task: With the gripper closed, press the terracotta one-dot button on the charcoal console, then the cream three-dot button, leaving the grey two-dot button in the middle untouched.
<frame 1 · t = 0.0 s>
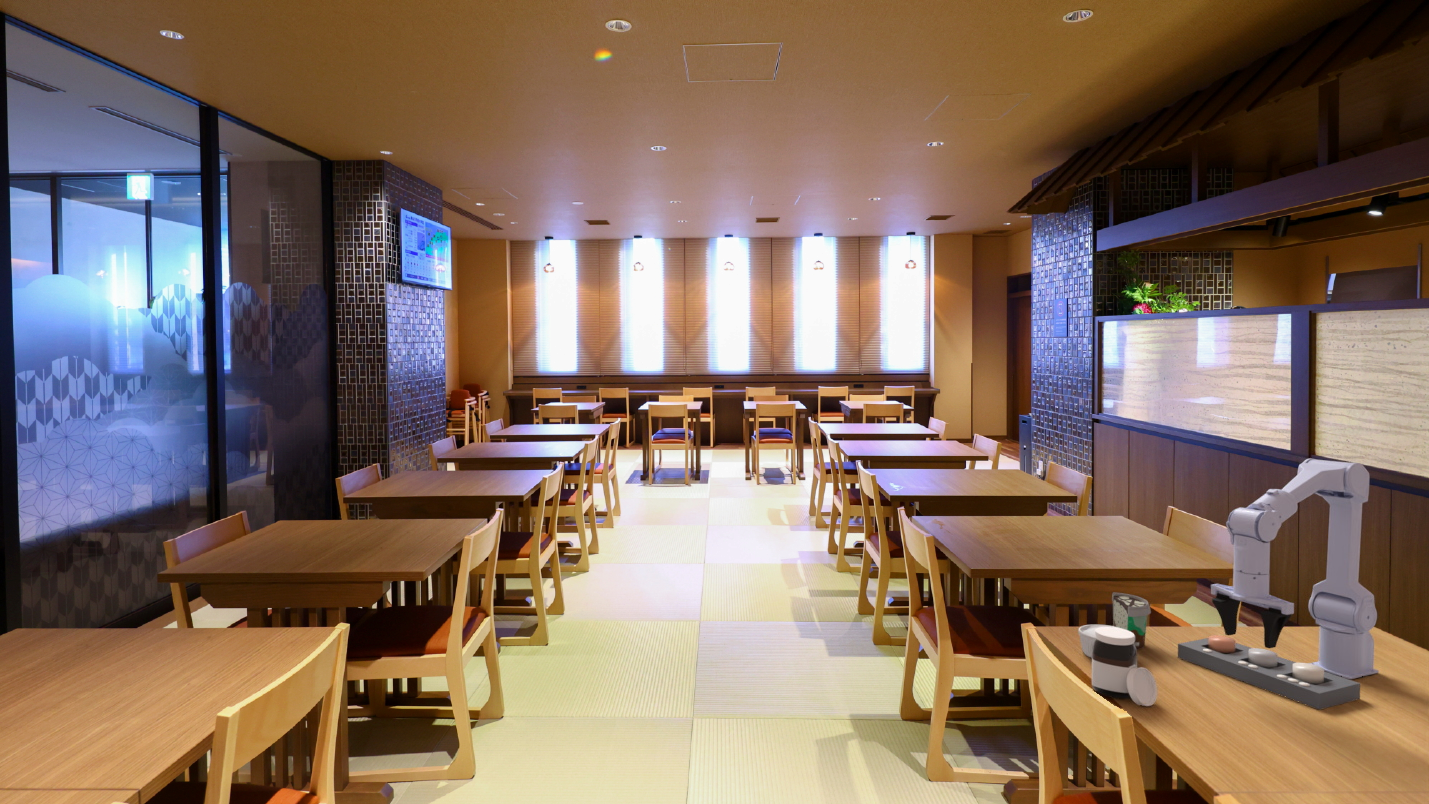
hand: (1249, 640, 149), 10 cm above the table, tool pointing down, fingers open, 7 cm apart
button three: (1308, 672, 148), point 4 cm above the table, slide at 0.0 cm
button two: (1262, 657, 156), point 4 cm above the table, slide at 0.0 cm
button one: (1221, 644, 164), point 4 cm above the table, slide at 0.0 cm
console: (1262, 676, 156), on the table
food container: (1134, 644, 176), on the table
ramekin: (1106, 656, 169), on the table
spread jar: (1123, 696, 148), on the table
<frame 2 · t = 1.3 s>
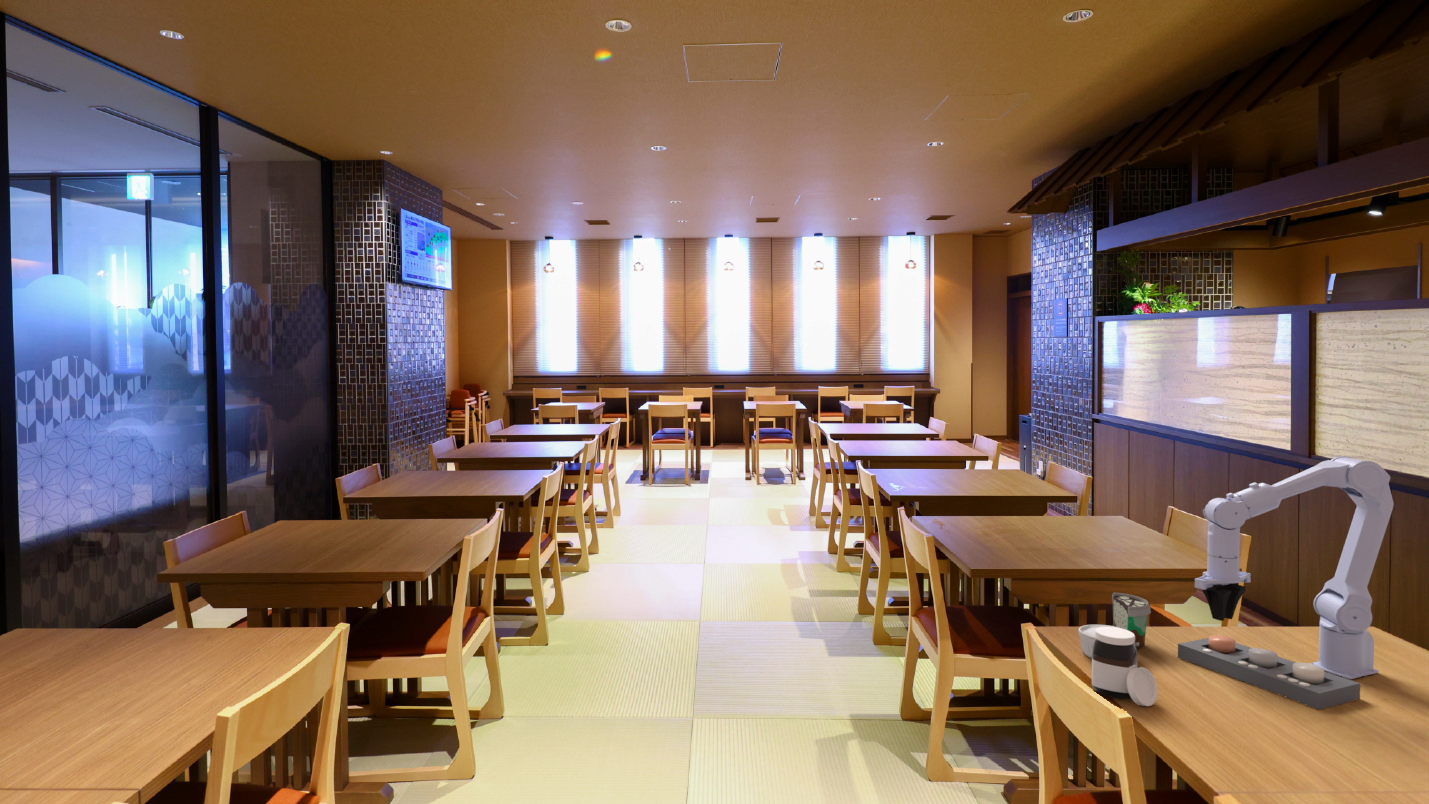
hand: (1222, 618, 164), 9 cm above the table, tool pointing down, fingers closed
nothing on the table moved.
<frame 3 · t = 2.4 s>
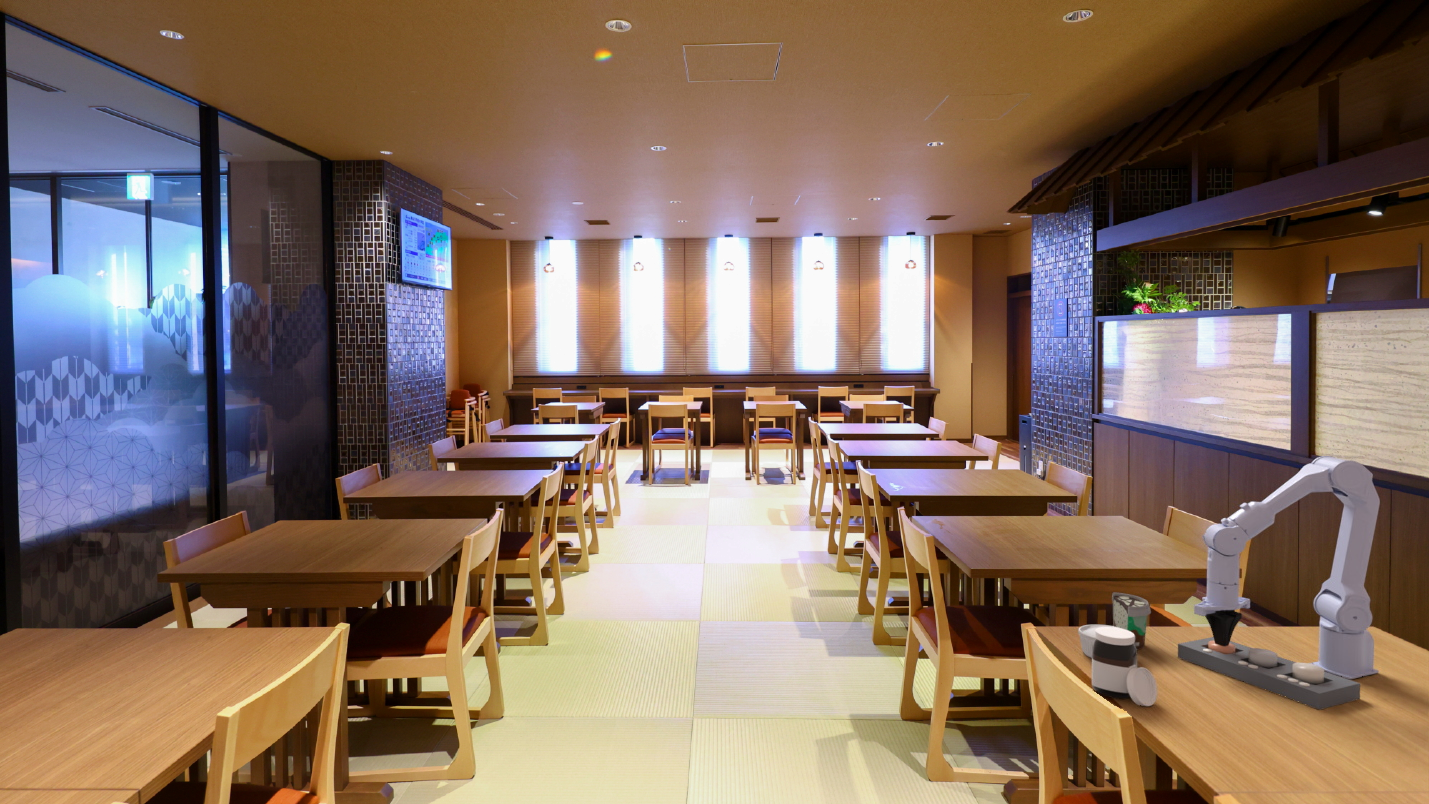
hand: (1221, 644, 164), 4 cm above the table, tool pointing down, fingers closed, pressing on button one
button one: (1221, 649, 164), point 3 cm above the table, slide at 1.2 cm, touching gripper
everything else where it was.
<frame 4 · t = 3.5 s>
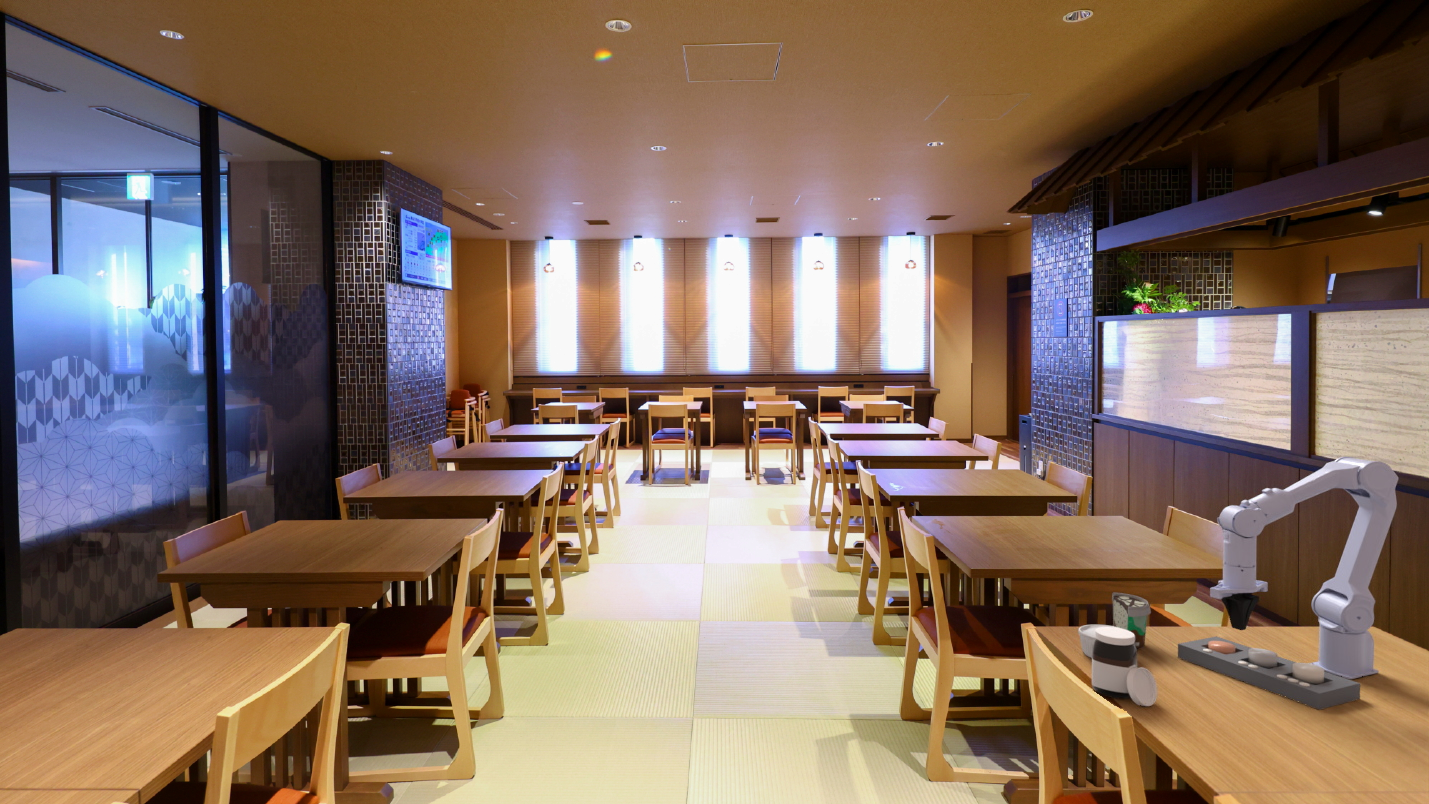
hand: (1238, 628, 161), 8 cm above the table, tool pointing down, fingers closed
button one: (1221, 649, 164), point 3 cm above the table, slide at 1.2 cm
everything else where it was.
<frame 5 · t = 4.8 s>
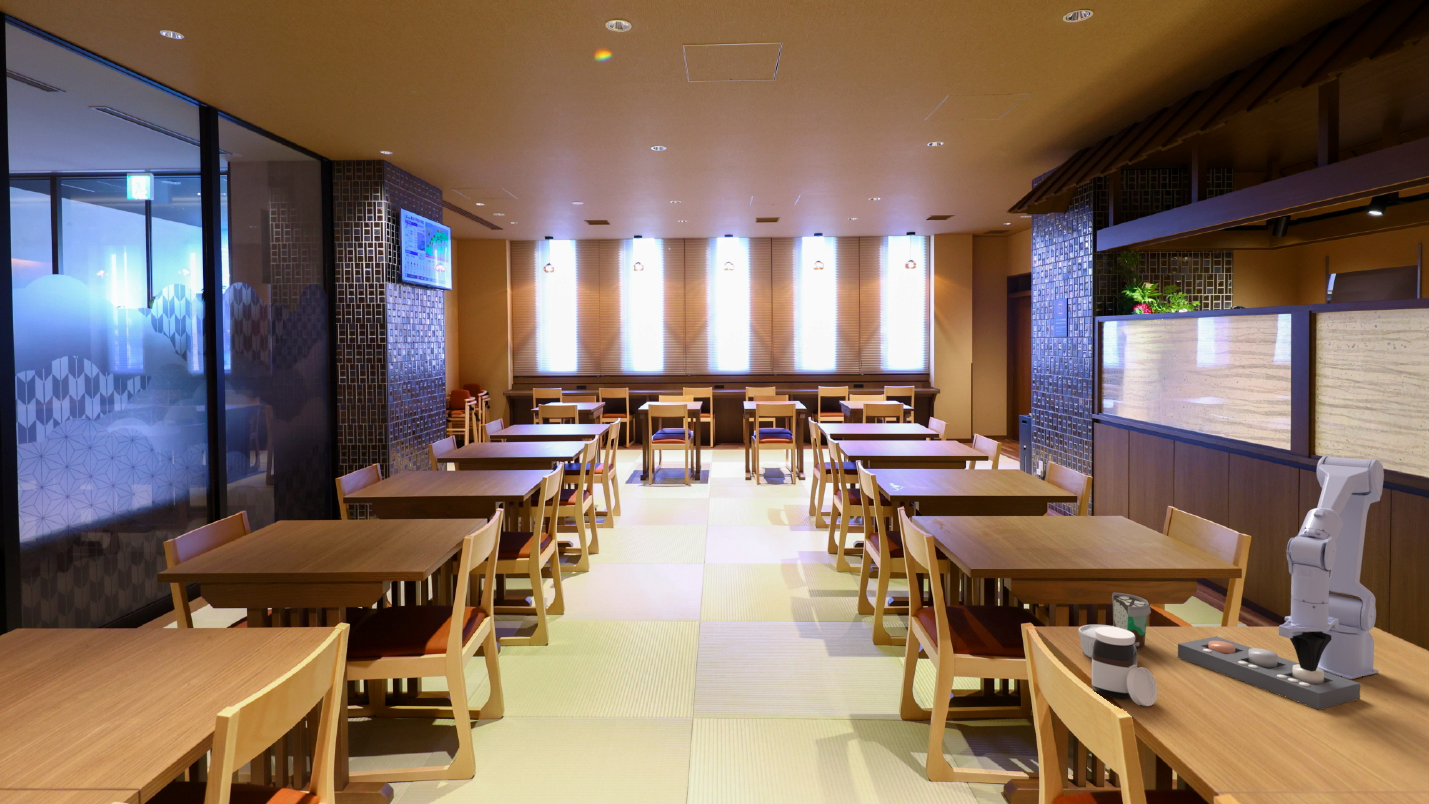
hand: (1308, 669, 148), 5 cm above the table, tool pointing down, fingers closed, pressing on button three
button three: (1308, 674, 148), point 4 cm above the table, slide at 0.4 cm, touching gripper
everything else where it was.
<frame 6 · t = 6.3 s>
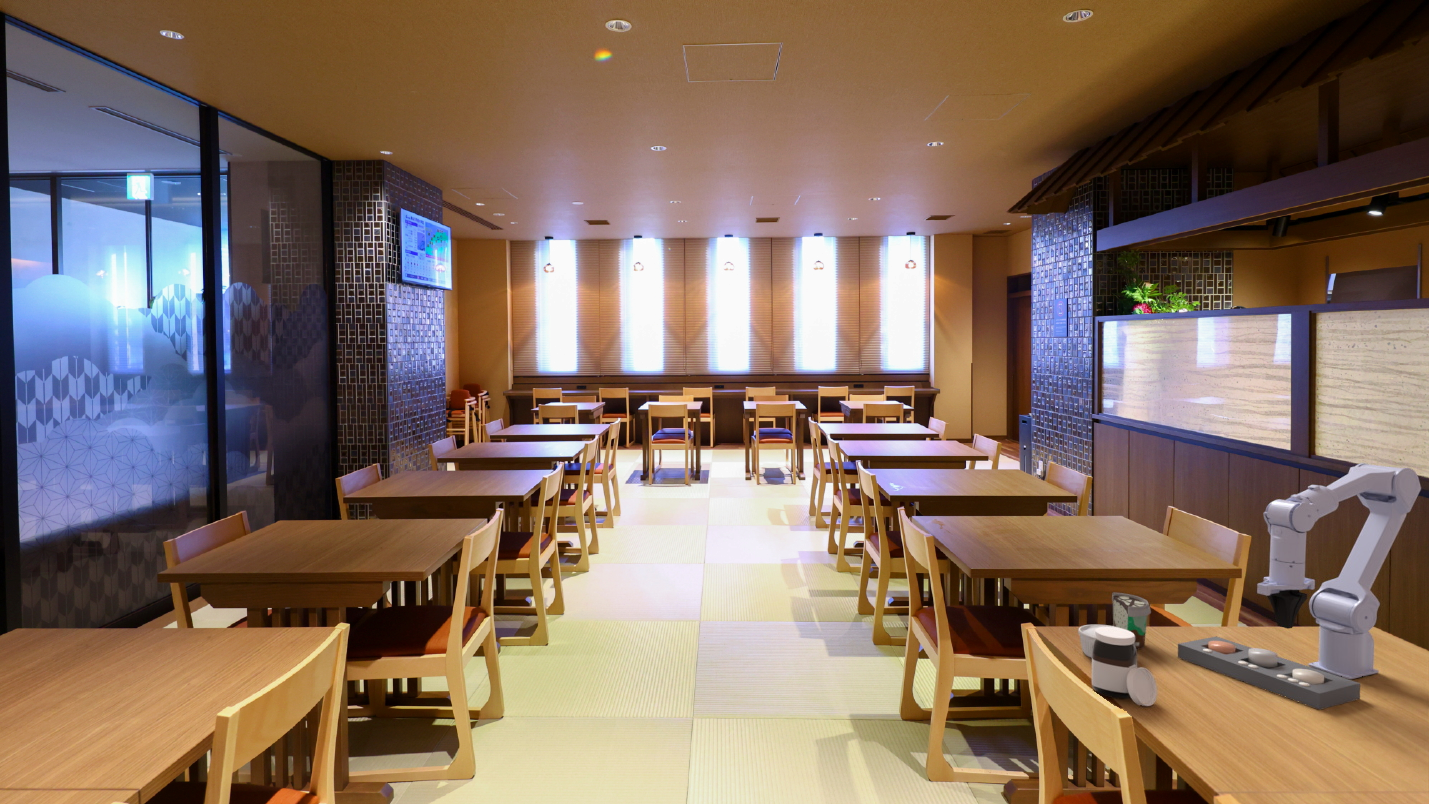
hand: (1284, 626, 155), 10 cm above the table, tool pointing down, fingers closed
button three: (1308, 679, 148), point 3 cm above the table, slide at 1.2 cm
everything else where it was.
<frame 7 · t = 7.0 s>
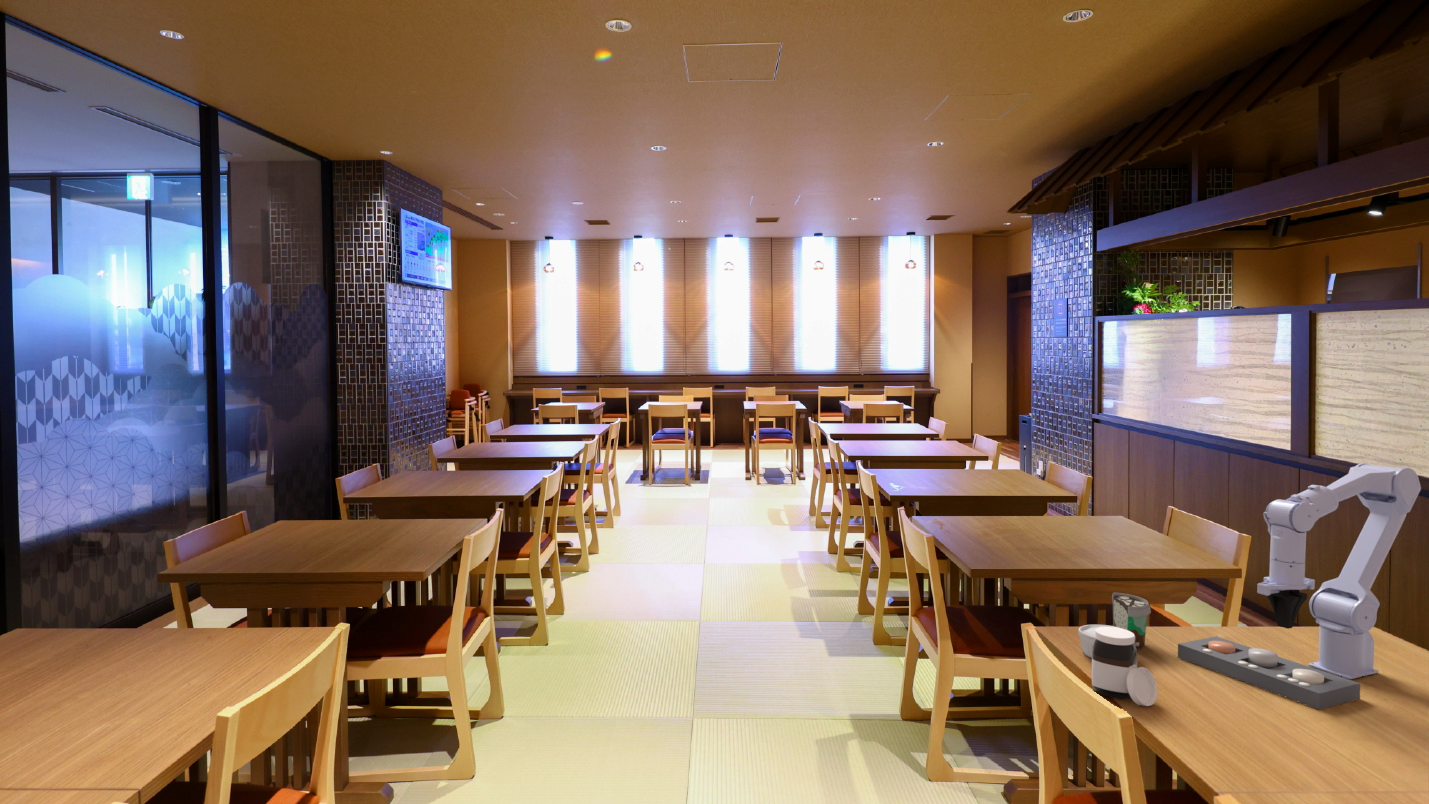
hand: (1284, 626, 155), 10 cm above the table, tool pointing down, fingers closed
nothing on the table moved.
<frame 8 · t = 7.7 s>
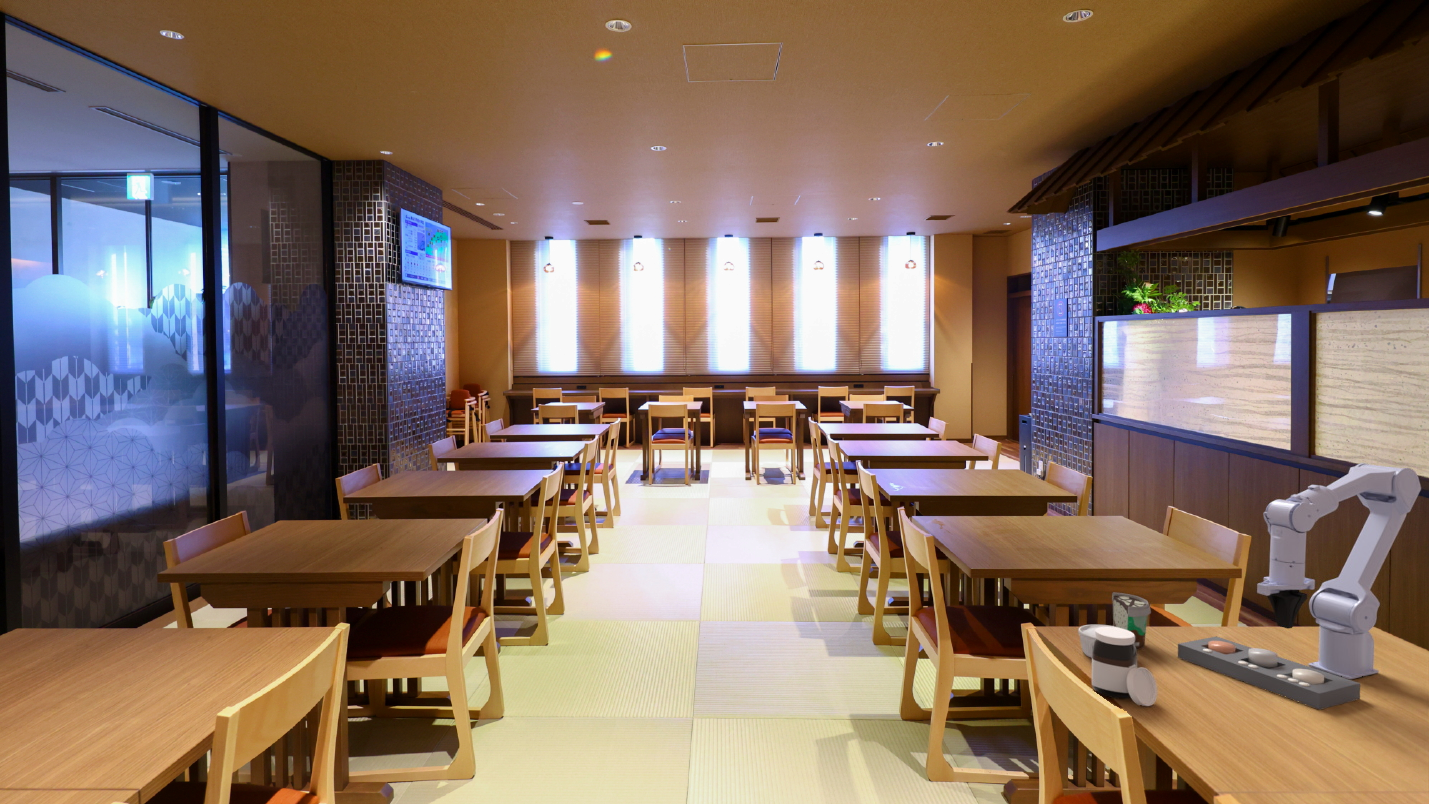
hand: (1284, 626, 155), 10 cm above the table, tool pointing down, fingers closed
nothing on the table moved.
at the end: button one slide at 1.2 cm; button three slide at 1.2 cm; button two slide at 0.0 cm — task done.
